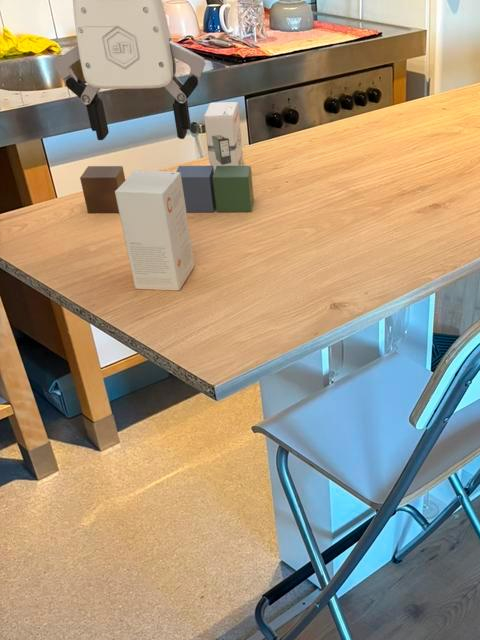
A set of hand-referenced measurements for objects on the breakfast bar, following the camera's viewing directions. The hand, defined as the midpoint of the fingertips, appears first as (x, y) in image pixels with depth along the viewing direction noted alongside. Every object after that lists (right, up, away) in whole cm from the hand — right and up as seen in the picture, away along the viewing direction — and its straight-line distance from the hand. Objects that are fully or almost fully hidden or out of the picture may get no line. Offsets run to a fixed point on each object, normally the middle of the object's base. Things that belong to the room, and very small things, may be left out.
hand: (143, 136), depth 99 cm
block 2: (-1, +4, +32) cm, 33 cm away
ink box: (+3, +11, +42) cm, 44 cm away
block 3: (+5, +4, +33) cm, 33 cm away
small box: (-1, -14, +12) cm, 19 cm away
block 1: (-15, +3, +32) cm, 35 cm away
